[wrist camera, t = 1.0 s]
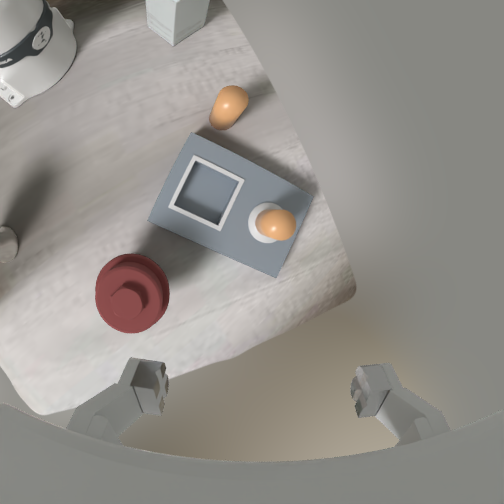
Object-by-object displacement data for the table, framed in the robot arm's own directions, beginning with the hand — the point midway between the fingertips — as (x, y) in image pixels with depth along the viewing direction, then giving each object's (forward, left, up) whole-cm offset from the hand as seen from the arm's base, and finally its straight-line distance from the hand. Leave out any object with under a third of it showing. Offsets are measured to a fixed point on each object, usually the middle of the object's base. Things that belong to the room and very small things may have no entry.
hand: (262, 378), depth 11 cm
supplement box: (-22, +34, -35) cm, 53 cm away
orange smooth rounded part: (-6, +21, -35) cm, 41 cm away
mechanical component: (-7, -7, -35) cm, 36 cm away
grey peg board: (+2, +9, -35) cm, 36 cm away
